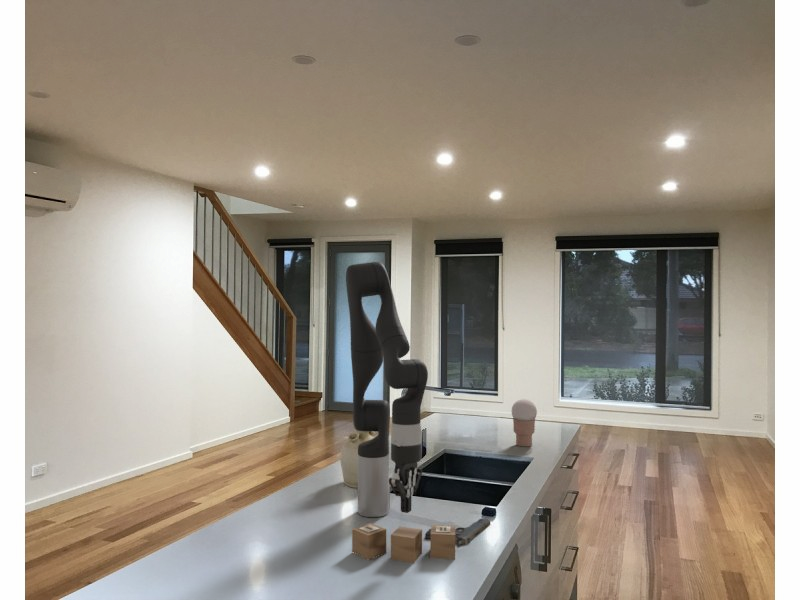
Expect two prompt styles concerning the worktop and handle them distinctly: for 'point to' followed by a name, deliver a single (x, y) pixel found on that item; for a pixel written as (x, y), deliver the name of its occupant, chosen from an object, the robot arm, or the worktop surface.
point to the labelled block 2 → (442, 542)
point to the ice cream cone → (524, 421)
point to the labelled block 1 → (369, 540)
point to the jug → (353, 456)
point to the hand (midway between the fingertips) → (405, 511)
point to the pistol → (466, 531)
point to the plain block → (406, 544)
